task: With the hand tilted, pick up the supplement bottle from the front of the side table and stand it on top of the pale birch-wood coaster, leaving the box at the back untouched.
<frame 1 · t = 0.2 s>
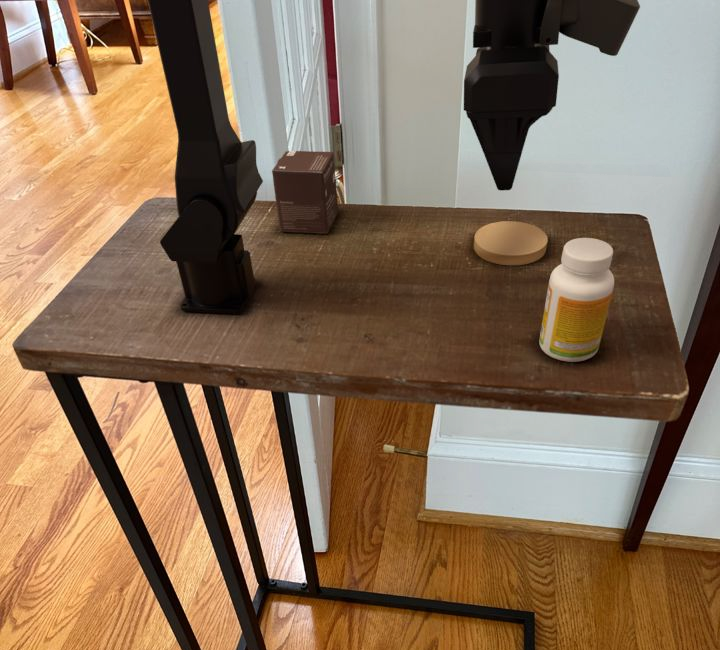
hand: (505, 166, 58), 14 cm above the table, tool pointing down, fingers open, 9 cm apart
coaster: (509, 247, 77), on the table
box: (309, 224, 83), on the table
supplement bottle: (567, 348, 64), on the table
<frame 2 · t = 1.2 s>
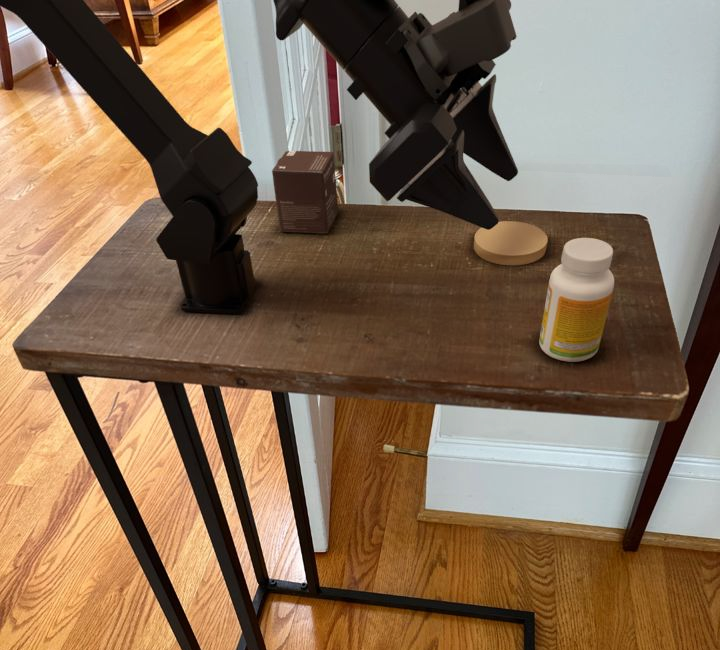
hand: (504, 200, 56), 13 cm above the table, tool tilted 45°, fingers open, 9 cm apart
nothing on the table moved.
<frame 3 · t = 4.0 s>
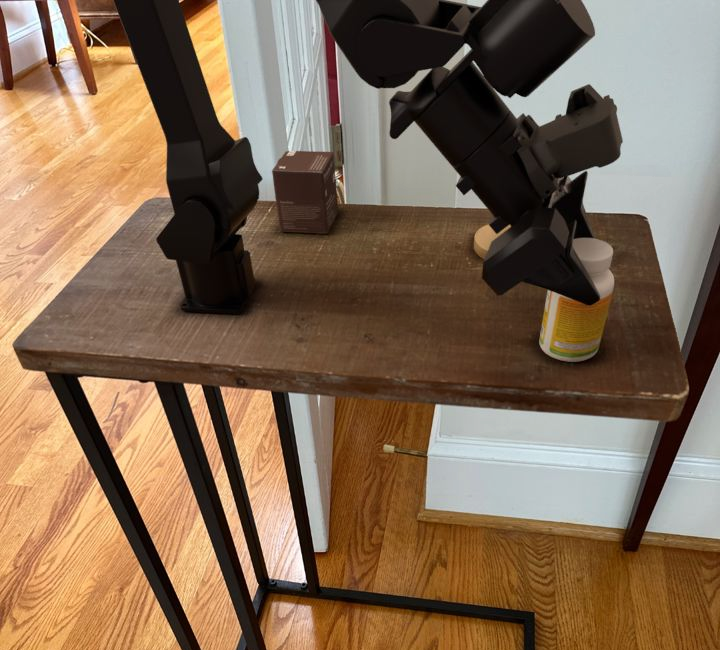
hand: (598, 284, 58), 7 cm above the table, tool tilted 45°, fingers closed on supplement bottle, 5 cm apart
supplement bottle: (567, 348, 64), on the table, touching gripper
everything else where it was.
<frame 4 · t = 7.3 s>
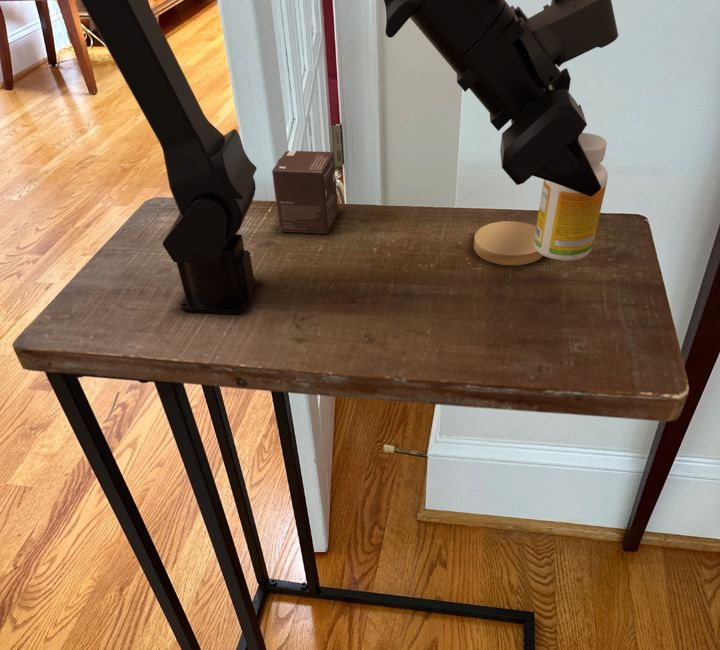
hand: (591, 178, 60), 12 cm above the table, tool tilted 45°, fingers closed on supplement bottle, 5 cm apart
supplement bottle: (561, 250, 65), point 5 cm above the table, touching gripper
everything else where it was.
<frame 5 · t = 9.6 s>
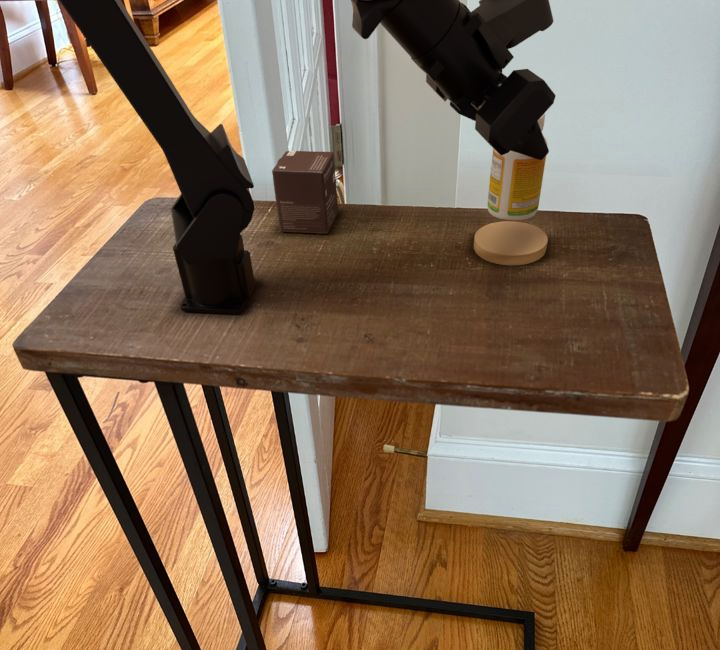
hand: (532, 145, 69), 11 cm above the table, tool tilted 45°, fingers closed on supplement bottle, 5 cm apart
supplement bottle: (511, 212, 74), point 4 cm above the table, touching gripper
everything else where it was.
when the fingers open (8 cm above the table, at t = 11.0 s): supplement bottle stays where it is, resting on coaster.
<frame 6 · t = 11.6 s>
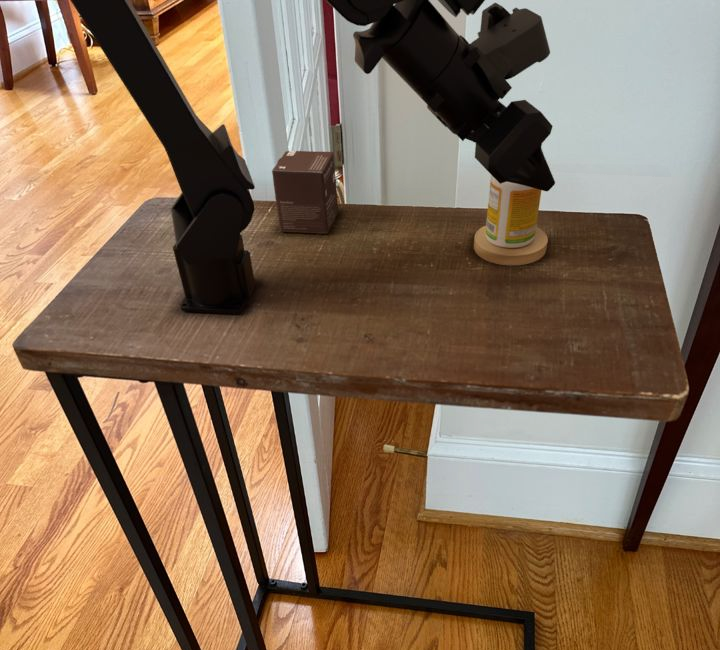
hand: (531, 169, 71), 8 cm above the table, tool tilted 45°, fingers open, 9 cm apart
coaster: (509, 247, 77), on the table, touching supplement bottle
supplement bottle: (509, 239, 76), point 1 cm above the table, touching coaster
everything else where it was.
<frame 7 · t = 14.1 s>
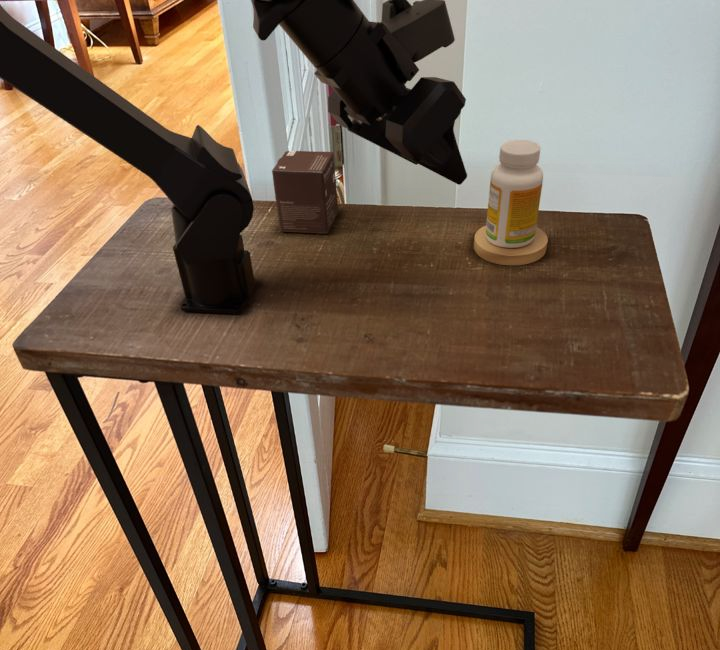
hand: (440, 170, 68), 10 cm above the table, tool tilted 40°, fingers open, 9 cm apart
nothing on the table moved.
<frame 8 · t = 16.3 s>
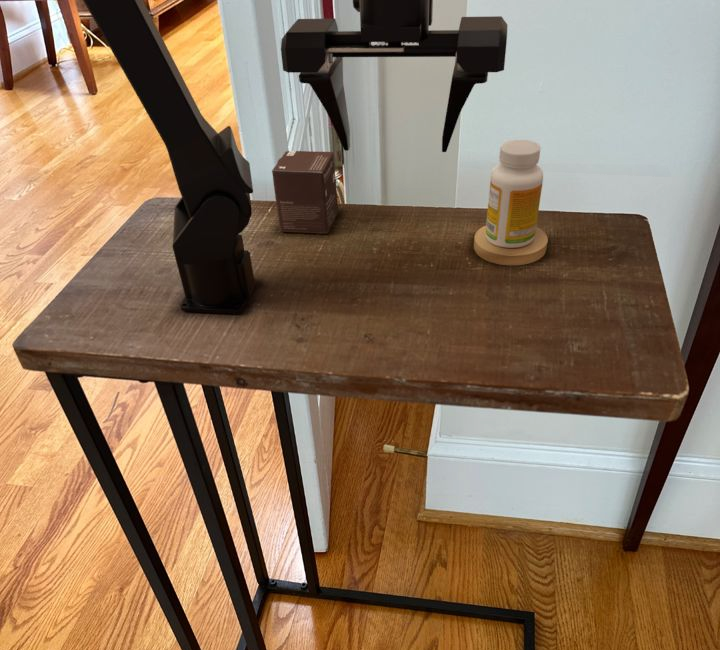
hand: (395, 149, 64), 13 cm above the table, tool pointing down, fingers open, 9 cm apart
nothing on the table moved.
at the end: supplement bottle 0.1 cm off-centre on the coaster, point 1.0 cm above the coaster's base; supplement bottle tilted 0°; box moved 0.2 cm from its start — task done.
